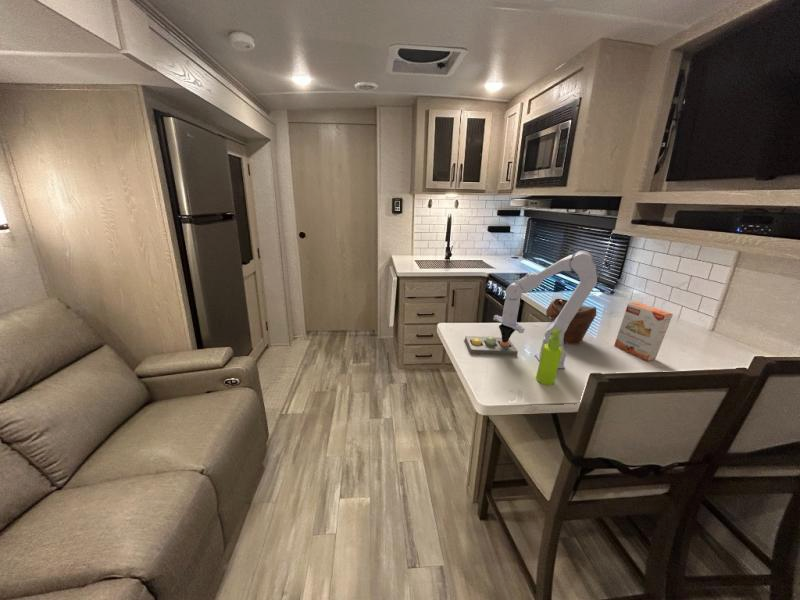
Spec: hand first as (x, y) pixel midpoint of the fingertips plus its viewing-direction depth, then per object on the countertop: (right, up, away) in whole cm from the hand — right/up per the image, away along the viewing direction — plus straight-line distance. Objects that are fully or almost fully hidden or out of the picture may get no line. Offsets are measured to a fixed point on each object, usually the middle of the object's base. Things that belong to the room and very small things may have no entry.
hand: (504, 341), depth 127 cm
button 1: (-12, -2, +1) cm, 12 cm away
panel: (-6, -3, +1) cm, 7 cm away
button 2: (0, -3, +1) cm, 3 cm away
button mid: (-6, -1, 0) cm, 6 cm away
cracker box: (+57, -5, +3) cm, 57 cm away
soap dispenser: (+7, -11, -20) cm, 24 cm away
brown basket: (+33, 0, +14) cm, 36 cm away
